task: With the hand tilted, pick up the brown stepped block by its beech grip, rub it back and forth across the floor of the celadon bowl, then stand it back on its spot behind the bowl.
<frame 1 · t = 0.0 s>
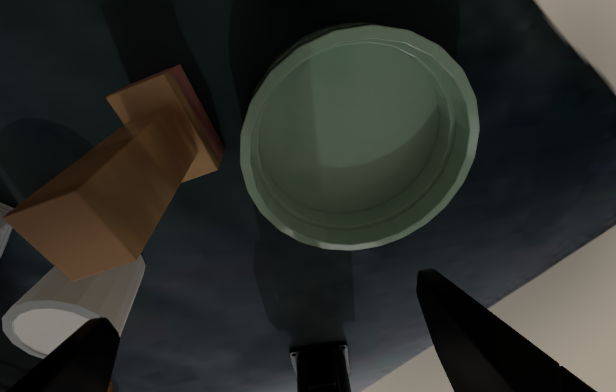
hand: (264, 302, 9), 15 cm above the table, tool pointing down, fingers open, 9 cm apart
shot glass: (111, 260, 27), on the table
bowl: (348, 136, 22), on the table
brown stepped block: (180, 119, 21), on the table
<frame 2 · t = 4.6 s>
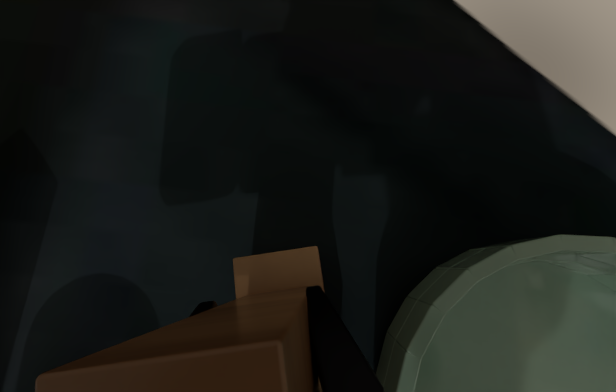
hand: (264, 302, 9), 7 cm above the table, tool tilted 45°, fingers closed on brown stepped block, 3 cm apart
brown stepped block: (291, 317, 15), on the table, touching gripper
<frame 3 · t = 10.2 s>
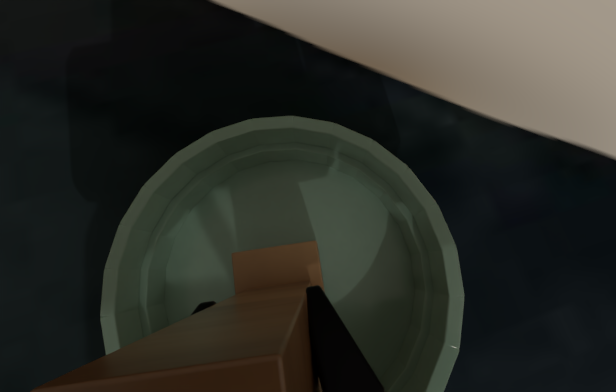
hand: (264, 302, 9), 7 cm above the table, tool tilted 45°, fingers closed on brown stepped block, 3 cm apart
bowl: (288, 278, 16), on the table, touching brown stepped block
brown stepped block: (291, 310, 15), point 1 cm above the table, touching bowl, gripper
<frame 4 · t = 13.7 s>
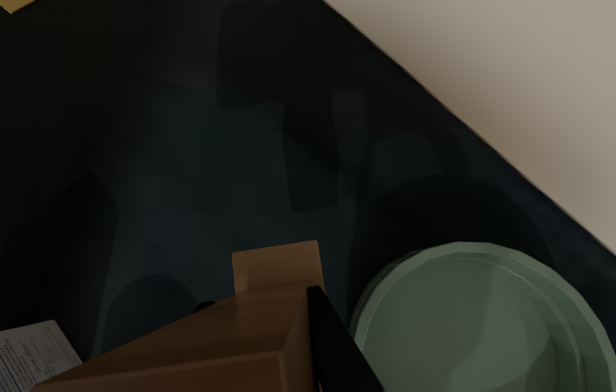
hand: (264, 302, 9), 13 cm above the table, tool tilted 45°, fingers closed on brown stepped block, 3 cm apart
bowl: (453, 354, 21), on the table
medicine box: (28, 382, 22), on the table
brown stepped block: (291, 310, 15), point 7 cm above the table, touching gripper
when the fingers open (7 cm above the table, at t = 16.1 s): brown stepped block stays where it is, on the table.
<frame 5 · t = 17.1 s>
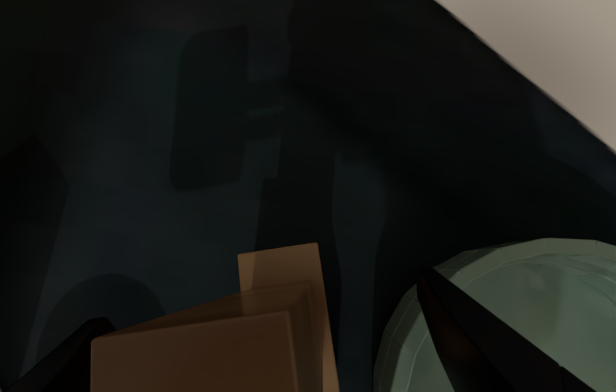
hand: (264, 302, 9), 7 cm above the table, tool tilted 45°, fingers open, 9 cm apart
brown stepped block: (293, 310, 16), on the table
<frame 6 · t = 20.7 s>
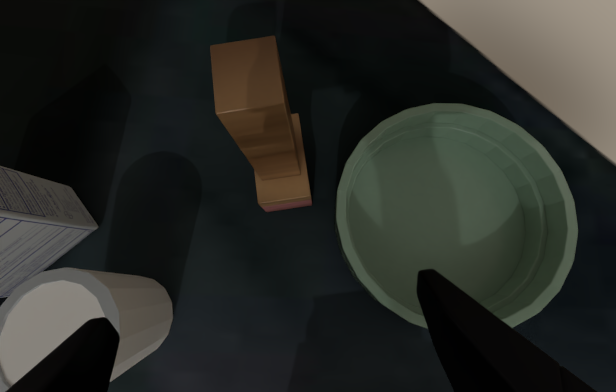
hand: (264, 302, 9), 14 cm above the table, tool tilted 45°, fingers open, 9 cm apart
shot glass: (136, 316, 22), on the table
bowl: (431, 219, 23), on the table
medicine box: (46, 240, 24), on the table
brown stepped block: (284, 171, 24), on the table
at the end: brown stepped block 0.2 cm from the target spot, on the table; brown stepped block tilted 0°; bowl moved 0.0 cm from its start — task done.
